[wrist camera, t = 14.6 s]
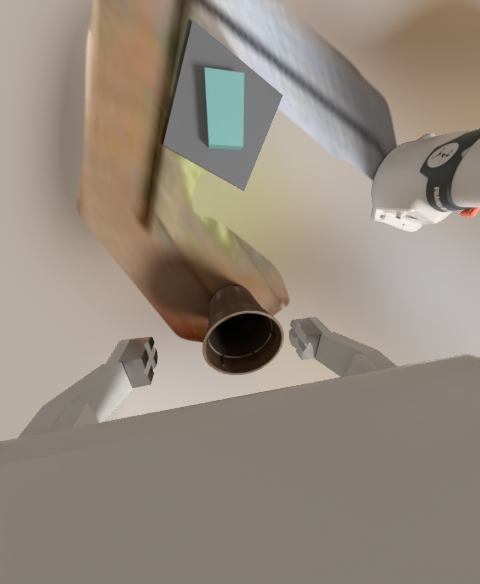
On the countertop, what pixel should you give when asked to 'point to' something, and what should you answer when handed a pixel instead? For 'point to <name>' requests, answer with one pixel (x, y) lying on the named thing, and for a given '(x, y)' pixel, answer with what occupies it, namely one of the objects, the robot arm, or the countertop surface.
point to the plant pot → (240, 333)
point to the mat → (193, 116)
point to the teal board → (224, 108)
